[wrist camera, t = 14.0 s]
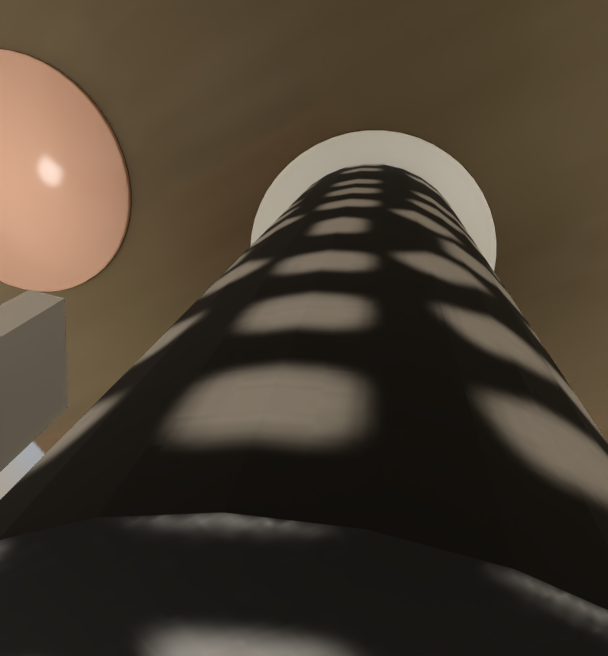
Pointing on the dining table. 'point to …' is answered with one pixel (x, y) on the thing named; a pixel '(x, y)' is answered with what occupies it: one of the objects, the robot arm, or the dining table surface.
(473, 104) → the dining table surface
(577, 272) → the dining table surface
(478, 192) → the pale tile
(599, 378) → the dining table surface
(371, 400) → the spotted tube
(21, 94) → the pink round disc
